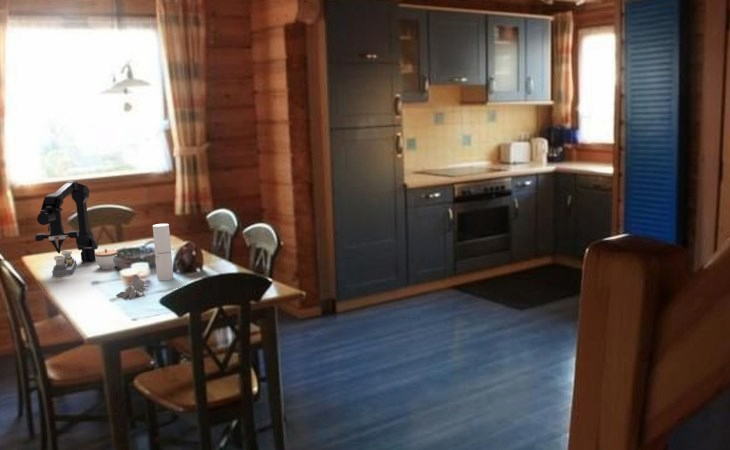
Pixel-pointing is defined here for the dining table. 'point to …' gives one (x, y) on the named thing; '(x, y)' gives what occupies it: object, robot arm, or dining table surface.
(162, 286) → the dining table surface
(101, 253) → the lidded jar
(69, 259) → the metal knob
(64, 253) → the white round cap
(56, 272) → the mount
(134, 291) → the grey lumpy piece
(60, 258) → the knob
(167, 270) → the cylindrical container
